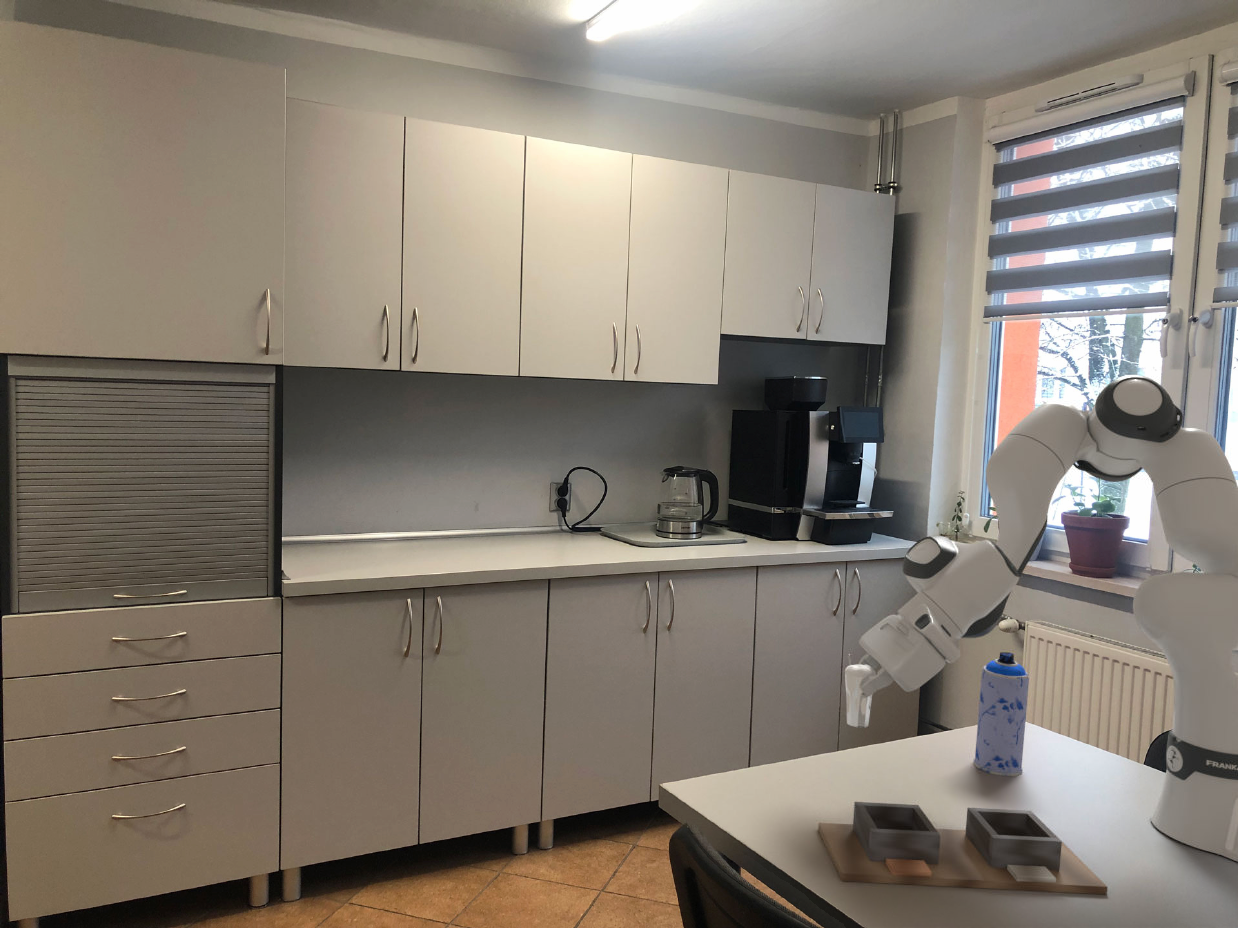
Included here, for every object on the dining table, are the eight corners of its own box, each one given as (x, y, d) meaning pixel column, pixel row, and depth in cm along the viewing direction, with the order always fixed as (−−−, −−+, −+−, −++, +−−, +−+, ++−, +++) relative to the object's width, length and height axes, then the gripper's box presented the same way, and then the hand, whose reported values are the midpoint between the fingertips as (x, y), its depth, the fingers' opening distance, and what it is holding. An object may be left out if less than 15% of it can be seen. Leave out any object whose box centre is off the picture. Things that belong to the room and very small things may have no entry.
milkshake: (857, 717, 142) (860, 653, 142) (879, 727, 137) (882, 661, 137) (833, 719, 141) (836, 655, 140) (854, 729, 136) (857, 663, 135)
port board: (1054, 841, 130) (1057, 807, 130) (1106, 894, 116) (1110, 856, 116) (818, 829, 130) (820, 795, 130) (841, 880, 116) (844, 842, 116)
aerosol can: (1005, 757, 162) (1014, 647, 160) (1032, 775, 154) (1041, 660, 152) (964, 758, 160) (973, 646, 159) (989, 776, 153) (998, 659, 151)
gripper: (892, 596, 148) (828, 652, 149) (935, 627, 128) (861, 691, 128) (917, 624, 148) (853, 680, 149) (965, 659, 128) (890, 724, 129)
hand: (857, 685), depth 138 cm, fingers closed on milkshake, 4 cm apart
